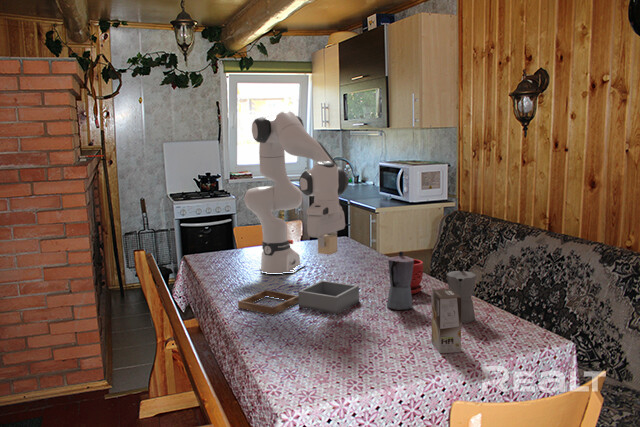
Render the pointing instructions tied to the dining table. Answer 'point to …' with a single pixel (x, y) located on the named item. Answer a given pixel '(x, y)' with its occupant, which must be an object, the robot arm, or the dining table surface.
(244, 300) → the frame
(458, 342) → the coffee box
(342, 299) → the bin
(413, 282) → the plant pot
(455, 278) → the coffeepot
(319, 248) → the tan block
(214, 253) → the dining table surface
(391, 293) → the moka pot
